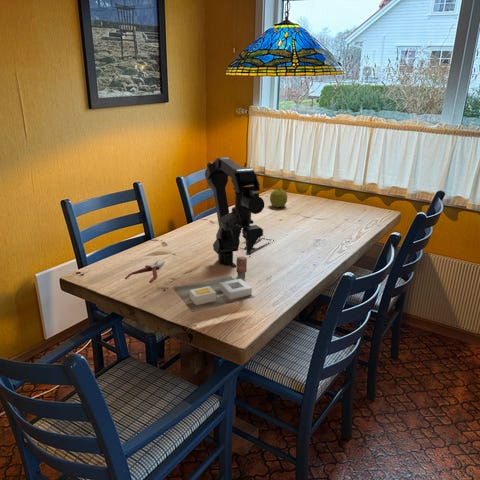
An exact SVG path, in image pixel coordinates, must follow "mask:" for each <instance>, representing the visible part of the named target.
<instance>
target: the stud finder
mask: <svg viewBox="0 0 480 480" xmlns="http://www.w3.org/2000/svg"><path fill="white" fill-rule="evenodd" d="M190 299H191V300H192V301H193V303H194V304H195V305H199V304H203V303H208V302H212V301H216V292H215V291H214V290H213V289H212V288H211V287H210V286H207V287H203V288H198V289H193V290H190Z"/></svg>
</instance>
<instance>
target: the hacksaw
mask: <svg viewBox="0 0 480 480" xmlns="http://www.w3.org/2000/svg"><path fill="white" fill-rule="evenodd" d="M262 239H263V240H265V239H266V240H267V241H271V240H273V241H274V240H275V239H272V238H271V239H269V238H265V237H264V238H263V237H259V238H258V240H257V241H256V243H255V244H254V245H256V244H258V243H260V242H261V241H263V240H262ZM274 242H275V241H274ZM268 245H269V244H267V243H264V244H263V245H260V246H259V247H257V248H256V247H253V248H252V250H251V251H250V253H247V251H246V252H245V254H247V255H252V254H253V253H255V252H258V250H260V249H262V248H264V247H266V246H268ZM239 248H240V249H241V250H246V246H244V247H243V248H242V247H239Z"/></svg>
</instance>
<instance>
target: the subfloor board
mask: <svg viewBox="0 0 480 480" xmlns="http://www.w3.org/2000/svg"><path fill="white" fill-rule="evenodd" d="M230 280H235V278H233V277H232V276H231V275H227V276H222V277H217V278H213V279H208V280H203V281H198V282H194V283H188V284H185V285H184V284H183V285H179V286H175V287H174V286H173V287H172V288H173V290H174V291H175V293H176V294H177V295H178V296H179V297H180V298H181V299H182V302H184V303H185V305H186V306H187V307H188V308H189V310H190V311H191V312H192V313H194V312H199V311H202V310H206V309H210V308H215V307H219V306H224V305H228V304H233V303H236V302H240V301H244V300H249V299H253V298H255V296H254V295H253V294H252V295H247V296H243V297H239V298H235V299H229V298H228V297H227V296H226V295H225V294H224V293H223V292H222V291H221V290H220V283H221V282H225V281H230ZM207 286H210V287H211V288H212V289H213V290H214V291H215V292H216V301H212V302H208V303H203V304H199V305H195V304H194V303H193V301H192V300H191V299H190V290H193V289H198V288H203V287H207Z"/></svg>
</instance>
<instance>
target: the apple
mask: <svg viewBox="0 0 480 480" xmlns="http://www.w3.org/2000/svg"><path fill="white" fill-rule="evenodd" d="M269 201H270V203H271V206H272V207H274V208H276V207H281V208H284V207H285V206H286V204H287V202H288V193H287V191H285V189H282V188H281V189H280V188H279V189H275V190H273V191H272V192H271V193H270V195H269Z"/></svg>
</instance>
